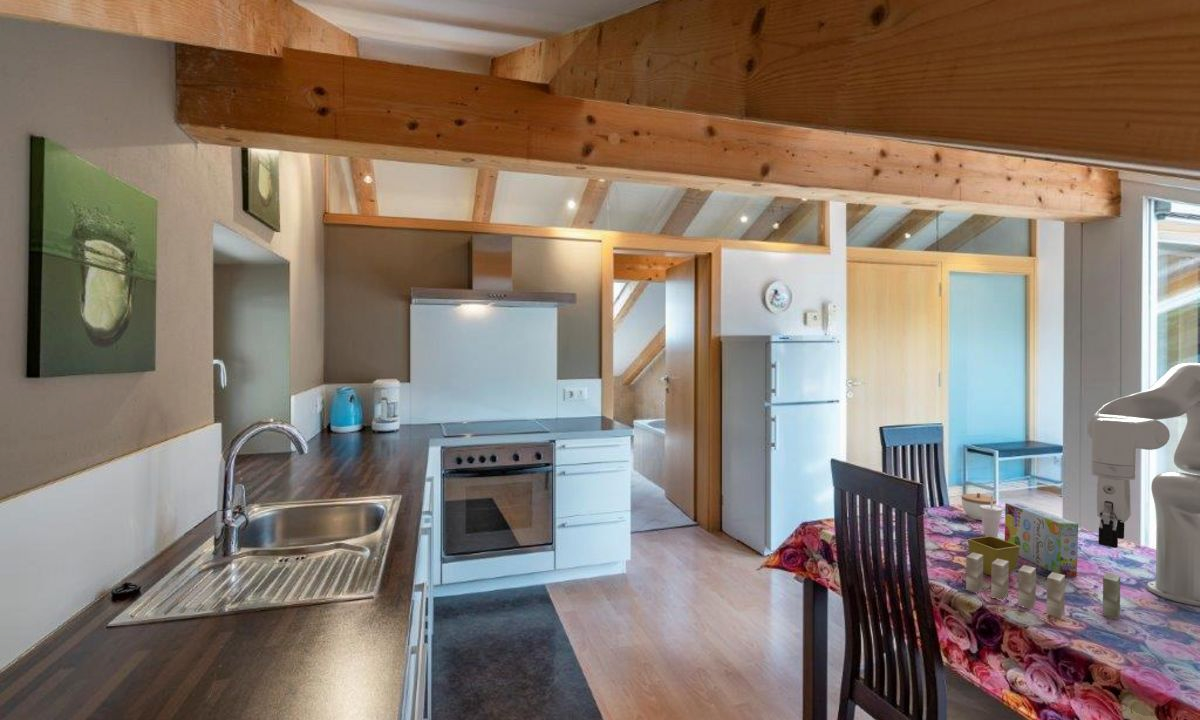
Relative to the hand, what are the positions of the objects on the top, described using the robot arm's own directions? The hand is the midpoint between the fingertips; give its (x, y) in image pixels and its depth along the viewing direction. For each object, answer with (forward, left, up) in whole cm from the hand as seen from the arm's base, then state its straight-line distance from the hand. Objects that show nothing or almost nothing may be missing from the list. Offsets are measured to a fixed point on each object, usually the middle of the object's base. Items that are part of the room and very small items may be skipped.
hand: (1111, 541), depth 126 cm
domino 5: (0, 0, -18) cm, 18 cm away
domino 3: (+14, +10, -18) cm, 24 cm away
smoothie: (+35, -43, -18) cm, 58 cm away
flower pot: (+25, -6, -18) cm, 31 cm away
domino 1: (+25, +10, -18) cm, 32 cm away
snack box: (+19, -27, -18) cm, 38 cm away
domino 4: (+8, +10, -18) cm, 22 cm away
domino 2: (+19, +10, -18) cm, 28 cm away
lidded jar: (+44, -63, -18) cm, 79 cm away
